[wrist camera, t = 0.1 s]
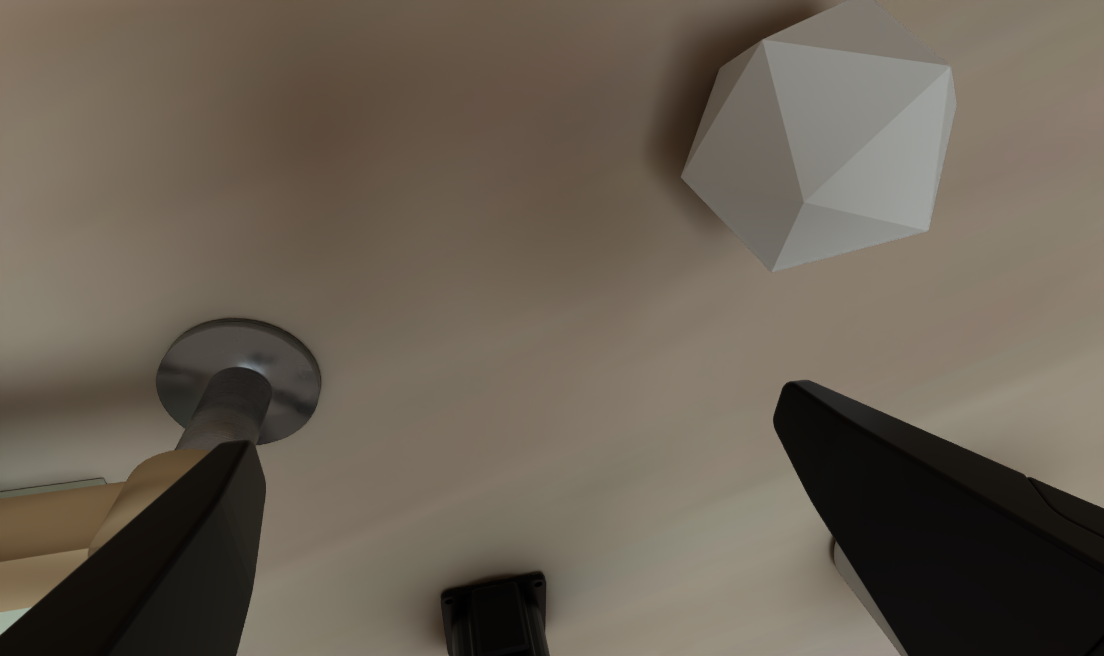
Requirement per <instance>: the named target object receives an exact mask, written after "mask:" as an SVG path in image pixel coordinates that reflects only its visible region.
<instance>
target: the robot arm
mask: <svg viewBox="0 0 1104 656" xmlns="http://www.w3.org/2000/svg"><path fill="white" fill-rule="evenodd" d="M773 424H774V428H775V431H776V433H777V435H778V437H779V439H780V441H781V443H782V445H783V447H784V449H785V451H786V453H787V455H788V457H789V459H790V461H791V463H792V465H793V467H794V469H795V471H796V473H797V475H798V477H799V479H800V481H801V483H802V485H803V487H804V489H805V491H806V492H807V494H808V496H809V498H810V500H811V502H812V503H813V505H814V507H815V508H816V510H817V512H818V513H819V515H820V517H821V518H822V520H823V521H824V523H825V524H826V526H827V528H828V529H829V531H830V532H831V534H832V536H833V537H834V539H835V540H836V542H837V544H838V545H839V547H840V548H841V550H842V551H843V553H844V555H845V556H846V558H847V559H848V561H849V563H850V564H851V566H852V567H853V569H854V571H855V572H856V574H857V575H858V577H859V579H860V580H861V582H862V583H863V585H864V586H865V588H866V590H867V591H868V593H869V594H870V596H871V598H872V599H873V601H874V602H875V604H876V606H877V607H878V609H879V610H880V612H881V613H882V615H883V617H884V618H885V620H886V621H887V623H888V625H889V626H890V628H891V629H892V631H893V633H894V634H895V636H896V637H897V639H898V640H899V642H900V644H901V645H902V647H903V648H904V650H905V652H906V653H907V655H908V656H1104V508H1102V507H1099V506H1097V505H1094V504H1092V503H1090V502H1087V501H1085V500H1083V499H1080V498H1078V497H1076V496H1073V495H1071V494H1068V493H1066V492H1064V491H1061V490H1059V489H1057V488H1054V487H1052V486H1050V485H1048V484H1045V483H1043V482H1041V481H1038V480H1036V479H1034V478H1032V477H1026V476H1025V475H1024V474H1022V473H1020V472H1018V471H1015V470H1013V469H1011V468H1009V467H1006V466H1004V465H1002V464H999V463H997V462H995V461H993V460H990V459H988V458H986V457H983V456H981V455H979V454H977V453H974V452H972V451H970V450H967V449H965V448H963V447H961V446H958V445H956V444H954V443H951V442H949V441H947V440H945V439H942V438H940V437H938V436H936V435H933V434H931V433H929V432H926V431H924V430H922V429H920V428H917V427H915V426H913V425H910V424H908V423H906V422H904V421H901V420H899V419H897V418H894V417H892V416H890V415H888V414H885V413H883V412H881V411H878V410H876V409H874V408H872V407H869V406H867V405H865V404H862V403H860V402H858V401H856V400H853V399H851V398H849V397H847V396H844V395H842V394H840V393H837V392H835V391H833V390H831V389H828V388H826V387H824V386H821V385H819V384H817V383H815V382H812V381H810V380H799V381H790V382H787V383H786V384H785V385H784V386H783V388H782V391H781V394H780V397H779V400H778V403H777V406H776V409H775V413H774V416H773ZM265 496H266V482H265V477H264V473H263V470H262V467H261V463H260V460H259V457H258V453H257V450H256V447H255V445H254V443H253V442H252V441H250V440H248V439H245V440H236V441H226V442H222V443H220V444H218V445H217V446H216V447H215V448H214V449H212V450H211V451H210V452H209V453H208V454H207V455H206V456H204V457H203V458H202V459H201V460H200V461H199V462H198V463H196V464H195V465H194V466H193V467H192V468H191V469H190V470H188V471H187V472H186V473H185V474H184V475H183V476H181V477H180V478H179V479H178V480H177V481H176V482H175V483H173V484H172V485H171V486H170V487H169V488H168V489H167V490H165V491H164V492H163V493H162V494H161V495H160V496H159V497H157V498H156V499H155V500H154V501H153V502H152V503H151V504H149V505H148V506H147V507H146V508H145V509H144V510H143V511H141V512H140V513H139V514H138V515H137V516H136V517H135V518H133V519H132V520H131V521H130V522H129V523H128V524H127V525H125V526H124V527H123V528H122V529H121V530H120V531H119V532H117V533H116V534H115V535H114V536H113V537H112V538H111V539H109V540H108V541H107V542H106V543H105V544H104V545H103V546H101V547H100V548H99V549H98V550H97V551H96V552H95V553H93V554H92V555H91V556H90V557H89V558H88V559H87V560H85V561H84V562H83V563H82V564H81V565H80V566H79V567H77V568H76V569H75V570H74V571H73V572H72V573H70V574H69V575H68V576H67V577H66V578H65V579H64V580H62V581H61V582H60V583H59V584H58V585H57V586H56V587H54V588H53V589H52V590H51V591H50V592H49V593H48V594H46V595H45V596H44V597H43V598H42V599H41V600H40V601H38V602H37V603H36V604H35V605H34V606H33V607H32V608H30V609H29V610H28V611H27V612H26V613H25V614H24V615H22V616H21V617H20V618H19V619H18V620H17V621H16V622H14V623H13V624H12V625H11V626H10V627H9V628H8V629H6V630H5V631H4V632H3V633H2V634H1V635H0V656H236V654H237V650H238V647H239V643H240V639H241V635H242V631H243V627H244V623H245V619H246V616H247V612H248V608H249V604H250V599H251V595H252V591H253V585H254V578H255V571H256V564H257V556H258V549H259V541H260V534H261V526H262V519H263V511H264V504H265ZM441 608H442V615H443V622H444V629H445V636H446V643H447V650H448V655H449V656H550V654H549V649H548V645H547V640H546V636H545V614H546V580H545V576H544V575H543V574H534V575H529V576H523V577H518V578H513V579H508V580H502V581H497V582H492V583H487V584H482V585H476V586H471V587H466V588H461V589H455V590H450V591H446V592H444V593H442V595H441Z"/></svg>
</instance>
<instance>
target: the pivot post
mask: <svg viewBox="0 0 1104 656" xmlns="http://www.w3.org/2000/svg"><path fill="white" fill-rule="evenodd" d="M156 386H157V392H158V395H159V398H160V401H161V403H162V404H163V406H164V408H165V409H166V411H167V412H168V413H169V415H170V416H171V417H172V418H173V419H174V420H175V421H176V422H178V423H179V424H180V425H181V426H183V427H184V428H186V429H185V431H184V433H183V434H182V436H181V438H180V440H179V442H178V444H177V446H176V448H175V450H181V449H202V450H210V451H211V450H212V449H214V448H215V447H216V446H217V445H218V444H220V443H222V442H226V441H236V440H245V439H248V440H250V441H252V442H253V443H254V445H255V447H256V445H262V444H267V443H271V442H275V441H278V440H281V439H283V438H286V437H288V436H289V435H291V434H293V433H295V432H296V431H298V430H299V429H300V428H301V427H302V426H304V425H305V424H306V423H307V421H308V420H309V419H310V418H311V416H312V414H313V413H314V411H315V408H316V406H317V402H318V397H319V393H320V388H321V376H320V371H319V368H318V365H317V363H316V361H315V359H314V357H313V356H312V354H311V353H310V351H309V350H308V349H307V348H306V347H305V346H304V345H303V344H302V343H301V342H300V341H299V340H298V339H296V338H295V337H294V336H292V335H290V334H289V333H287V332H286V331H284V330H282V329H280V328H278V327H275V326H272V325H270V324H267V323H263V322H259V321H254V320H248V319H221V320H214V321H211V322H207V323H203V324H201V325H198V326H196V327H194V328H192V329H190V330H188V331H187V332H185V333H184V334H183V335H181V336H180V337H179V338H178V339H177V340H176V341H175V342H174V343H173V345H172V346H171V348H170V349H169V351H168V352H167V354H166V355H165V357H164V358H163V360H162V361H161V363H160V366H159V368H158V372H157V376H156Z"/></svg>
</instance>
